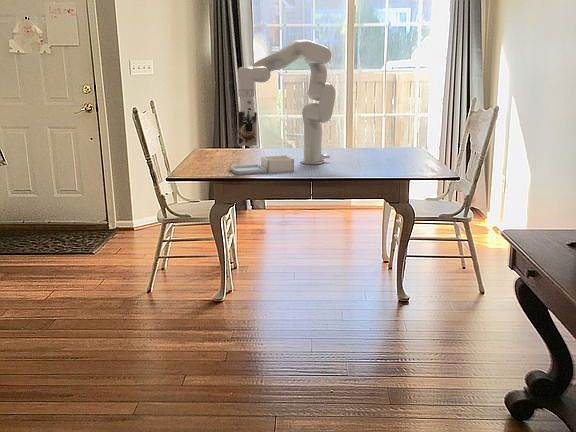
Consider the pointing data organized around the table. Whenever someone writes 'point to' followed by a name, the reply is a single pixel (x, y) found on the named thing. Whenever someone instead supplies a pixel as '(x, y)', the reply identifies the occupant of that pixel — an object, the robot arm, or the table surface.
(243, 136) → the coffee box
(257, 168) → the tray
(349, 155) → the table surface
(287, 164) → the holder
